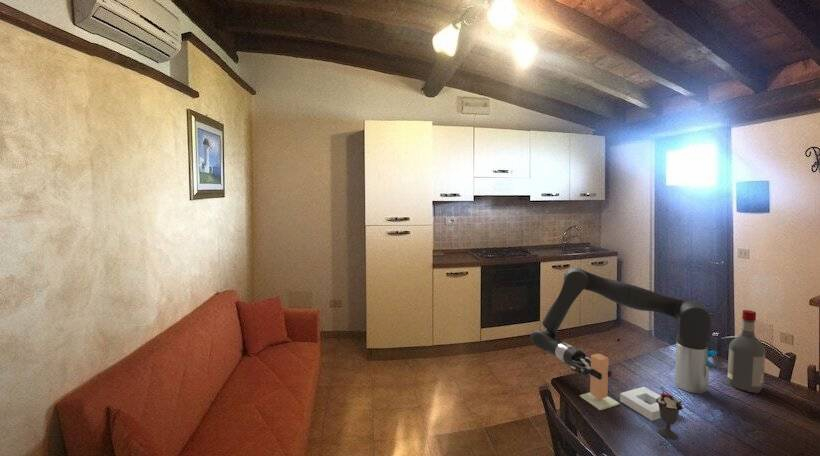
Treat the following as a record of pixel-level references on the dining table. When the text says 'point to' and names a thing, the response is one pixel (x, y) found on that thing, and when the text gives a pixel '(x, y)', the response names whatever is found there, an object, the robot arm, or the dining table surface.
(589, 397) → the pad
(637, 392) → the socket block
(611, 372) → the robot arm
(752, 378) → the liquor
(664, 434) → the sundae
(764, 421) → the dining table surface
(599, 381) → the peg
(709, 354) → the gear
